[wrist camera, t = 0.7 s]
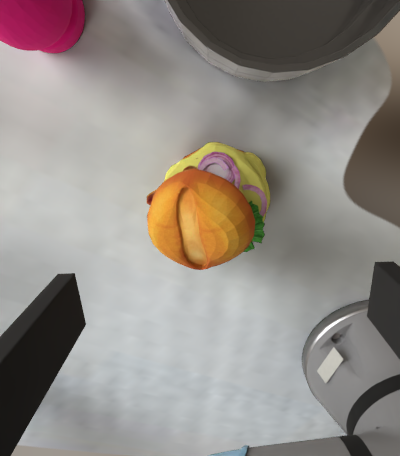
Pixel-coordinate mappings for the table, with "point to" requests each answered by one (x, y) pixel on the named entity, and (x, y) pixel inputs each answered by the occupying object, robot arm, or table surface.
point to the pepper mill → (41, 24)
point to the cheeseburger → (209, 207)
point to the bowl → (278, 32)
